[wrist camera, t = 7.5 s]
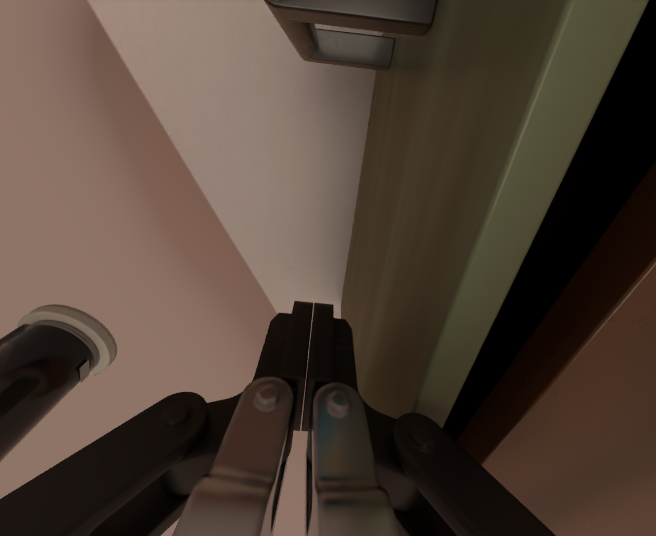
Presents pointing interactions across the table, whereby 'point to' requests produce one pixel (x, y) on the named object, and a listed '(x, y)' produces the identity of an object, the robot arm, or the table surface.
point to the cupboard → (581, 332)
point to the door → (454, 166)
